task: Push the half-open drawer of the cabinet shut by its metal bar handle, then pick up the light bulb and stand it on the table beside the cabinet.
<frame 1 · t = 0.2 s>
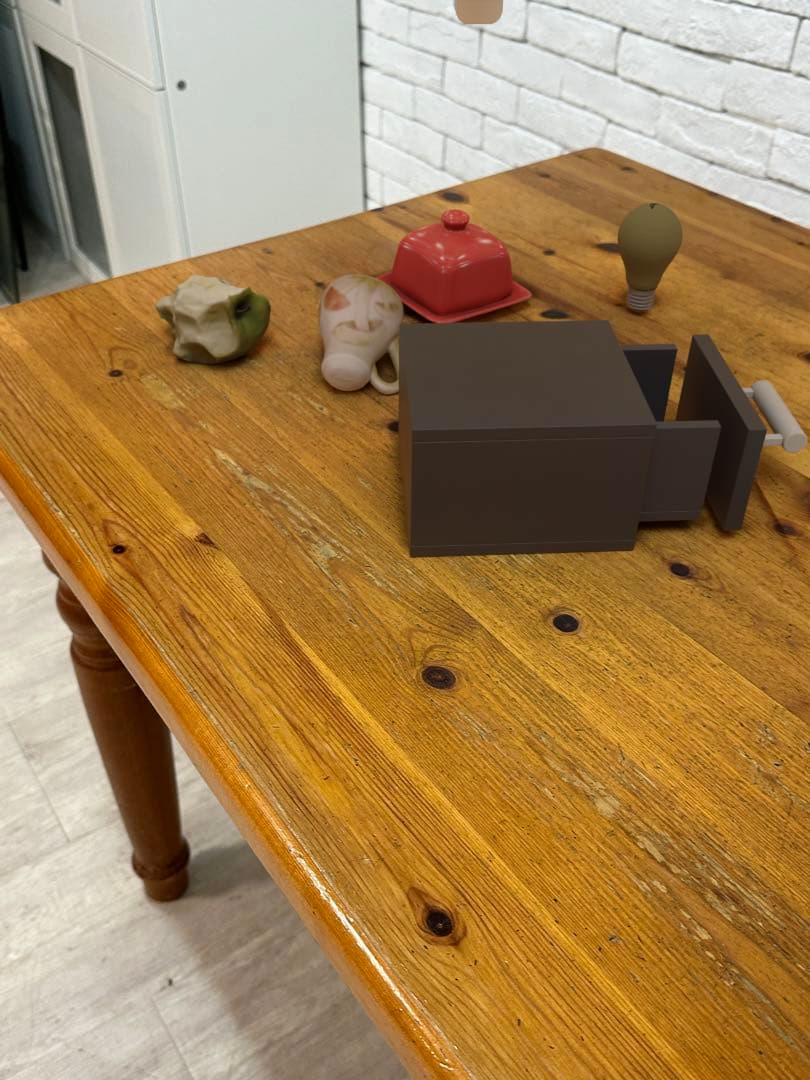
mug: (359, 372, 88), on the table
light bulb: (637, 313, 97), on the table
drawer: (657, 430, 71), point 5 cm above the table, slide at 6.0 cm
fruit: (219, 352, 90), on the table
butter dish: (451, 301, 98), on the table
cabinet: (508, 492, 74), on the table
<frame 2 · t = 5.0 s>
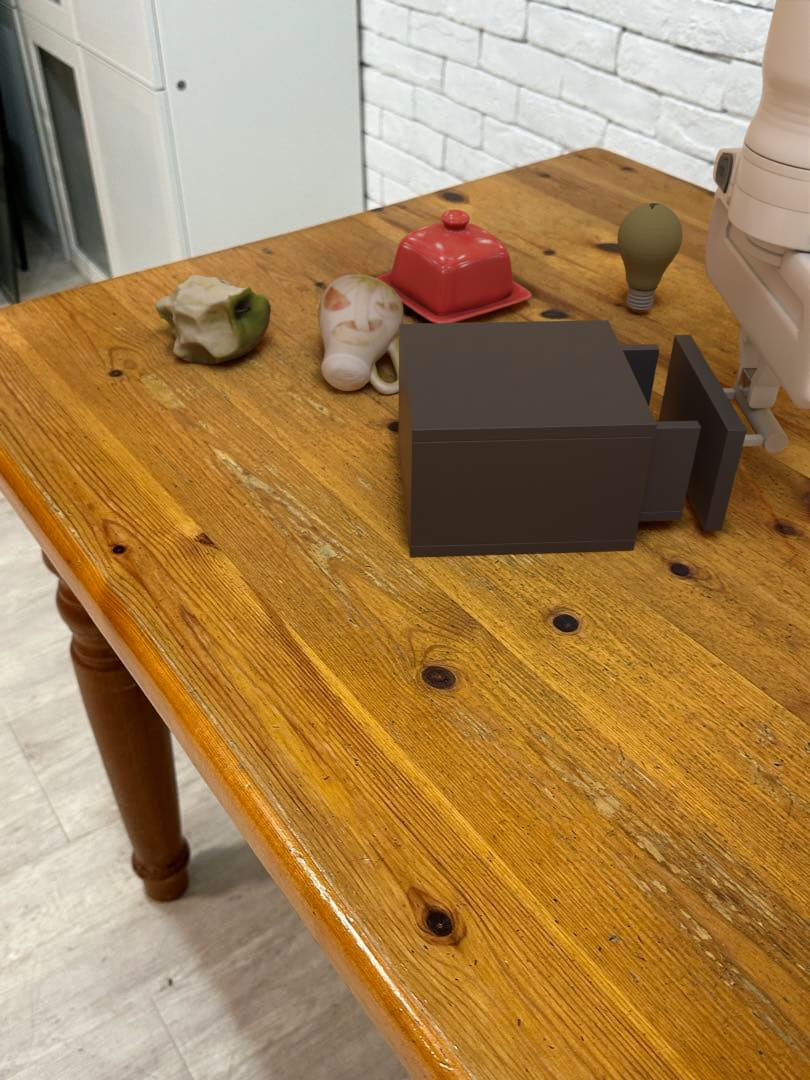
hand: (753, 397, 71), 7 cm above the table, tool pointing down, fingers closed, pressing on drawer
drawer: (639, 430, 71), point 5 cm above the table, slide at 4.7 cm, touching gripper
everything else where it was.
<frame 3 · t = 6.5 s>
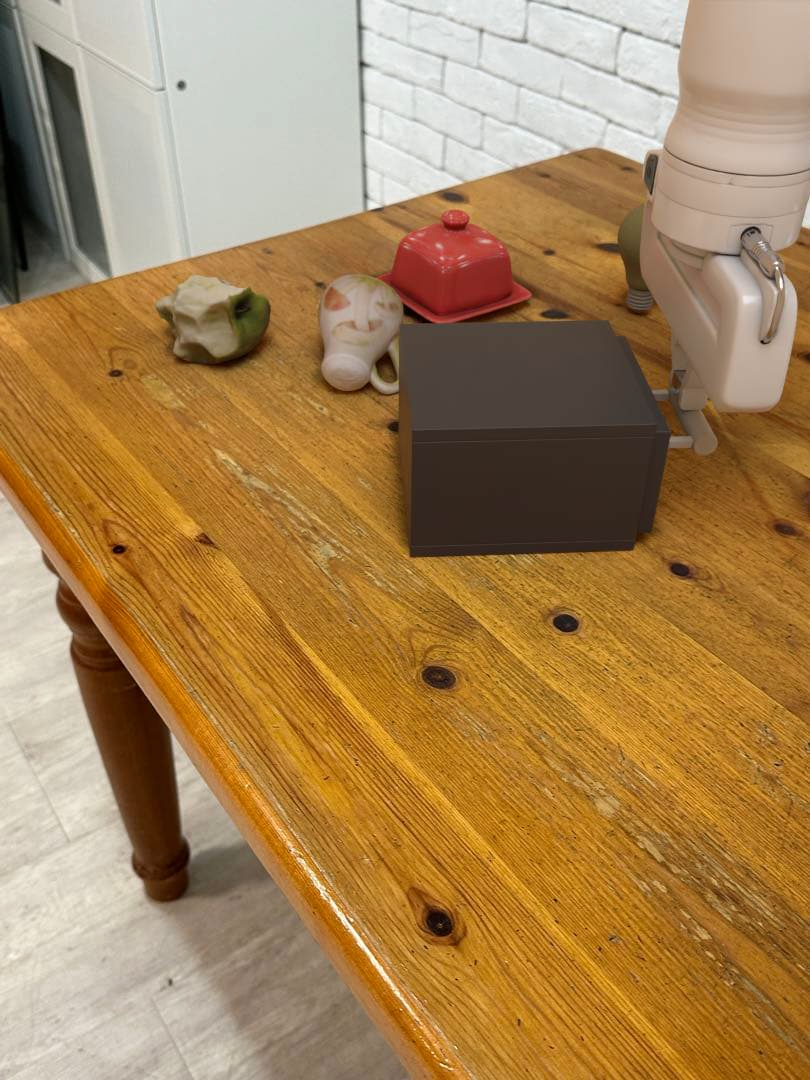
hand: (685, 399, 71), 7 cm above the table, tool pointing down, fingers closed, pressing on drawer
drawer: (570, 432, 71), point 5 cm above the table, slide at 0.0 cm, touching cabinet, gripper
everything else where it was.
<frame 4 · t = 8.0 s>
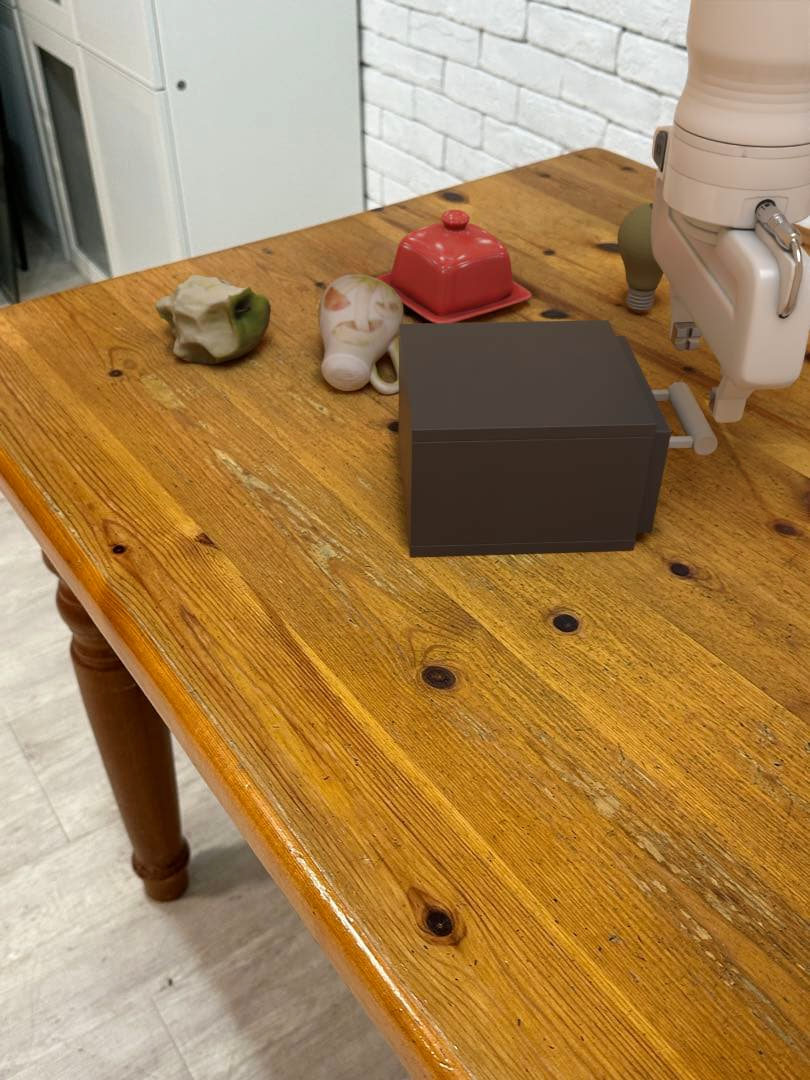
hand: (702, 379, 70), 8 cm above the table, tool pointing down, fingers open, 8 cm apart
drawer: (570, 432, 71), point 5 cm above the table, slide at 0.0 cm, touching cabinet
everything else where it was.
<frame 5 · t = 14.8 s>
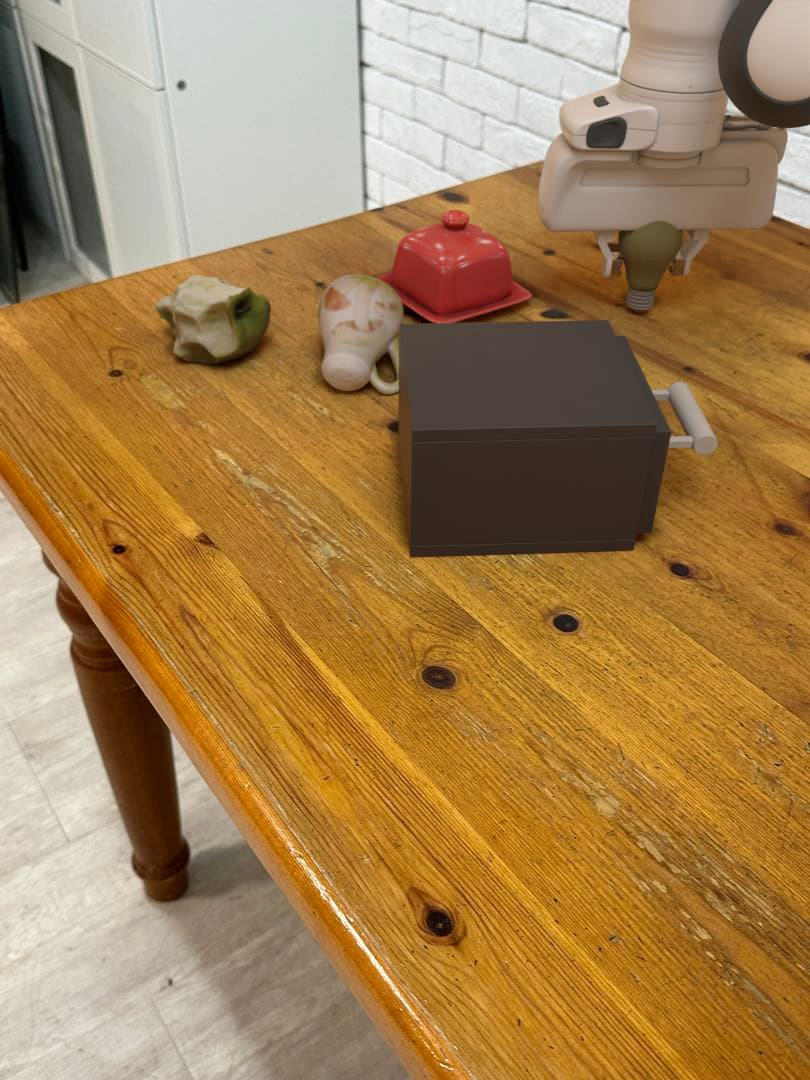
hand: (643, 274, 94), 4 cm above the table, tool pointing down, fingers closed on light bulb, 5 cm apart
light bulb: (637, 313, 97), on the table, touching gripper
everything else where it was.
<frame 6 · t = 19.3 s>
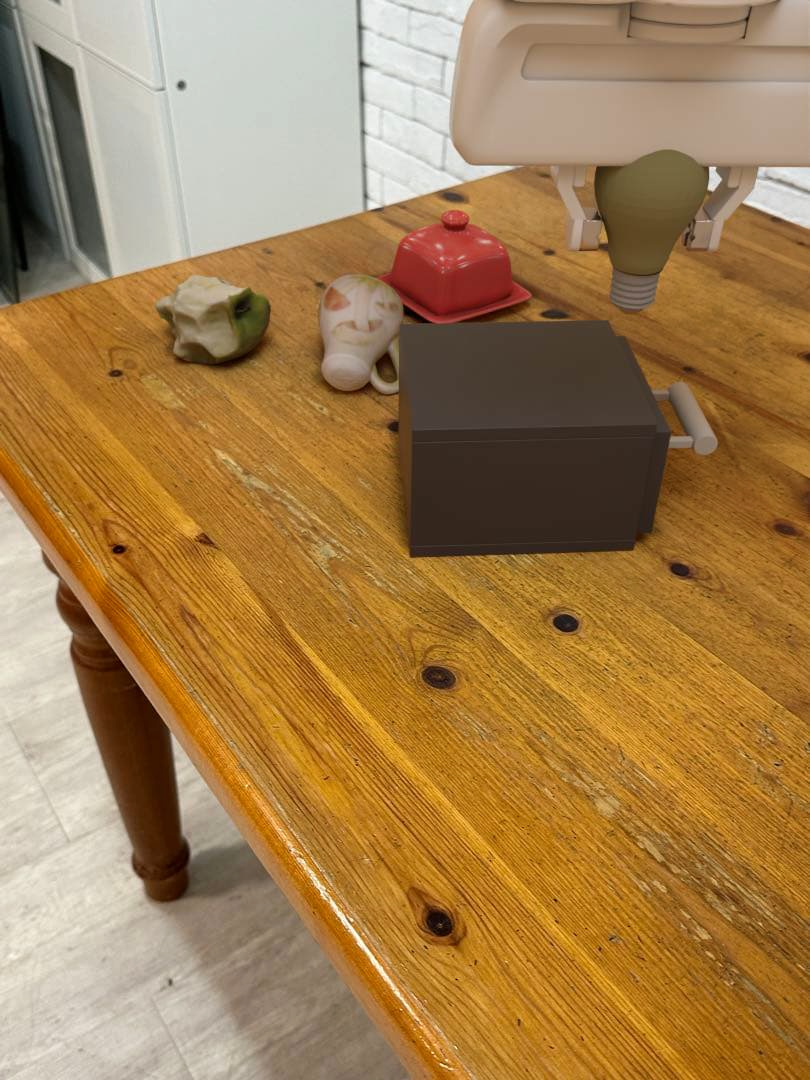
hand: (638, 247, 54), 22 cm above the table, tool pointing down, fingers closed on light bulb, 5 cm apart
light bulb: (628, 314, 57), point 18 cm above the table, touching gripper
everything else where it was.
when the fingers open (3 cm above the table, at t = 24.0 s): light bulb stays where it is, on the table.
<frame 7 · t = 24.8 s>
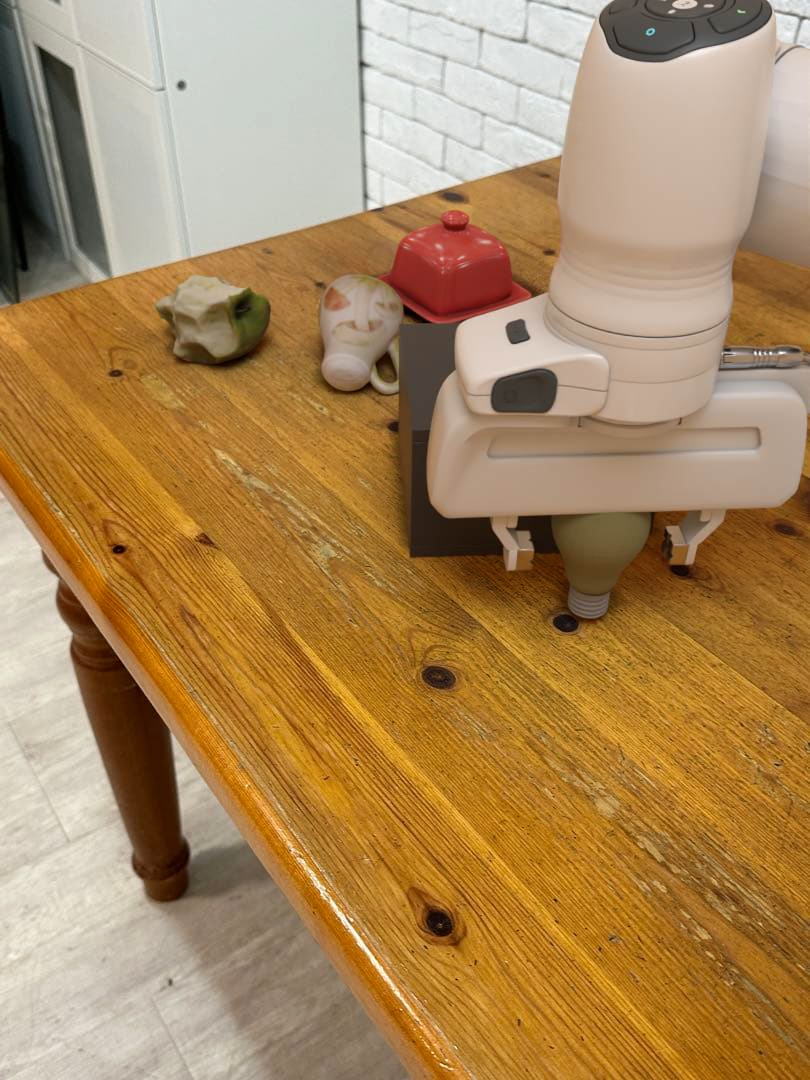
hand: (597, 561, 61), 4 cm above the table, tool pointing down, fingers open, 8 cm apart
light bulb: (585, 615, 64), on the table
everything else where it was.
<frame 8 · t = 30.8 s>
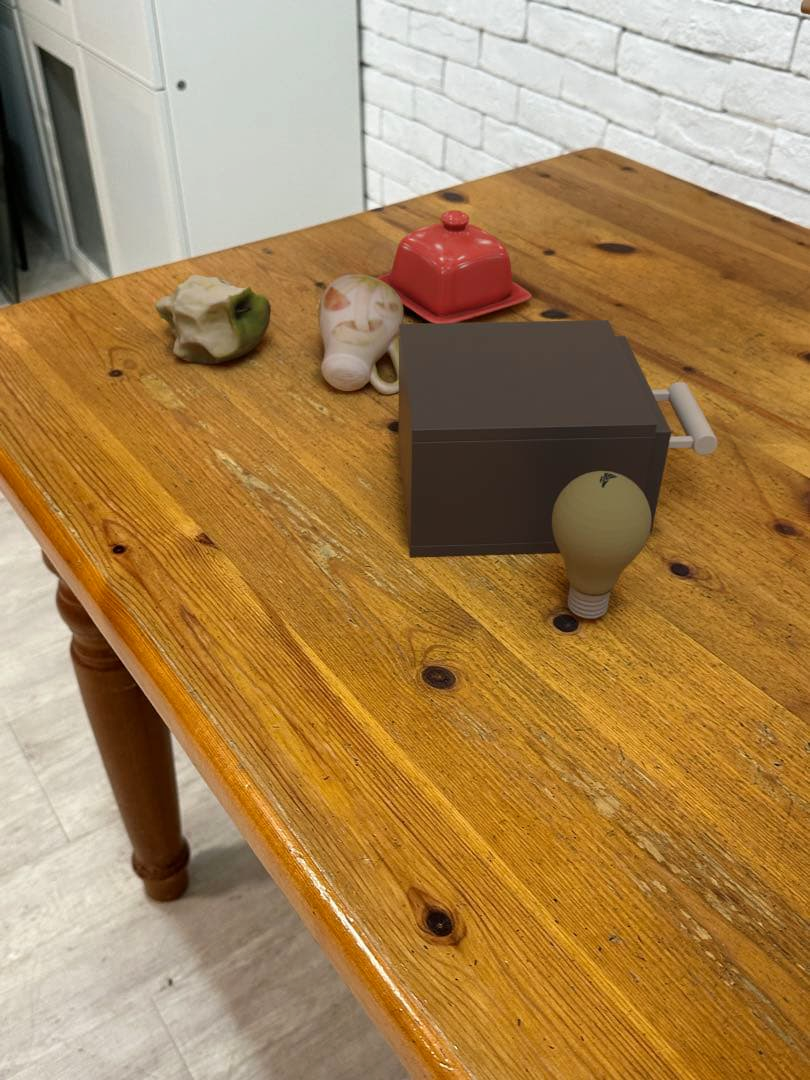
hand: (749, 1, 66), 29 cm above the table, tool pointing down, fingers open, 8 cm apart
nothing on the table moved.
at the end: drawer slide at 0.0 cm; light bulb inside the target area on the table beside the cabinet (0.7 cm from its centre), on the table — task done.
